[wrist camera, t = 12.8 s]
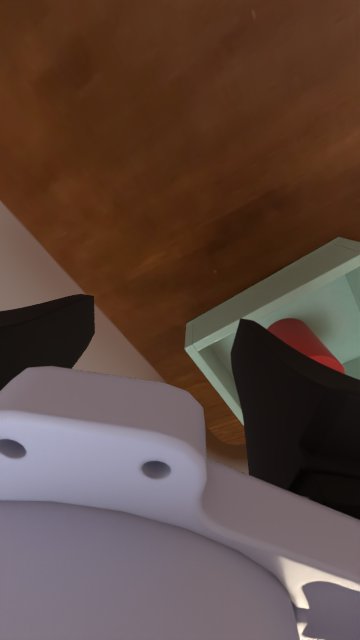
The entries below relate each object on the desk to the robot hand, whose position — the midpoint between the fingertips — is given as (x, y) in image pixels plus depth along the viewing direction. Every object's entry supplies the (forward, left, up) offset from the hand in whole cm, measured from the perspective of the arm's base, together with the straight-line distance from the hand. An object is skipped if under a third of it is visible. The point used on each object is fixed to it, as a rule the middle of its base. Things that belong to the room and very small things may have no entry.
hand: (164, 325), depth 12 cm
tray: (+5, -11, -10) cm, 16 cm away
